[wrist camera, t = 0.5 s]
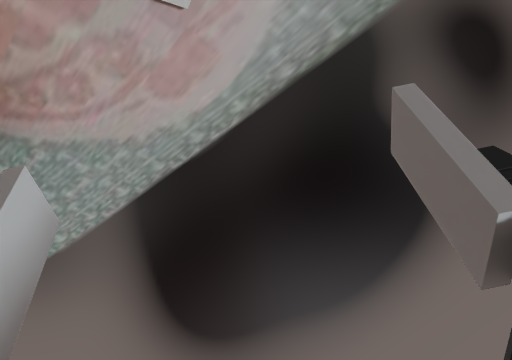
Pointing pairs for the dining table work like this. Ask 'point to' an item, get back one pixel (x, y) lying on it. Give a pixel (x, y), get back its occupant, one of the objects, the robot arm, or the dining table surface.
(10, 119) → the dining table surface
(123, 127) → the dining table surface
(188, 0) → the mat
